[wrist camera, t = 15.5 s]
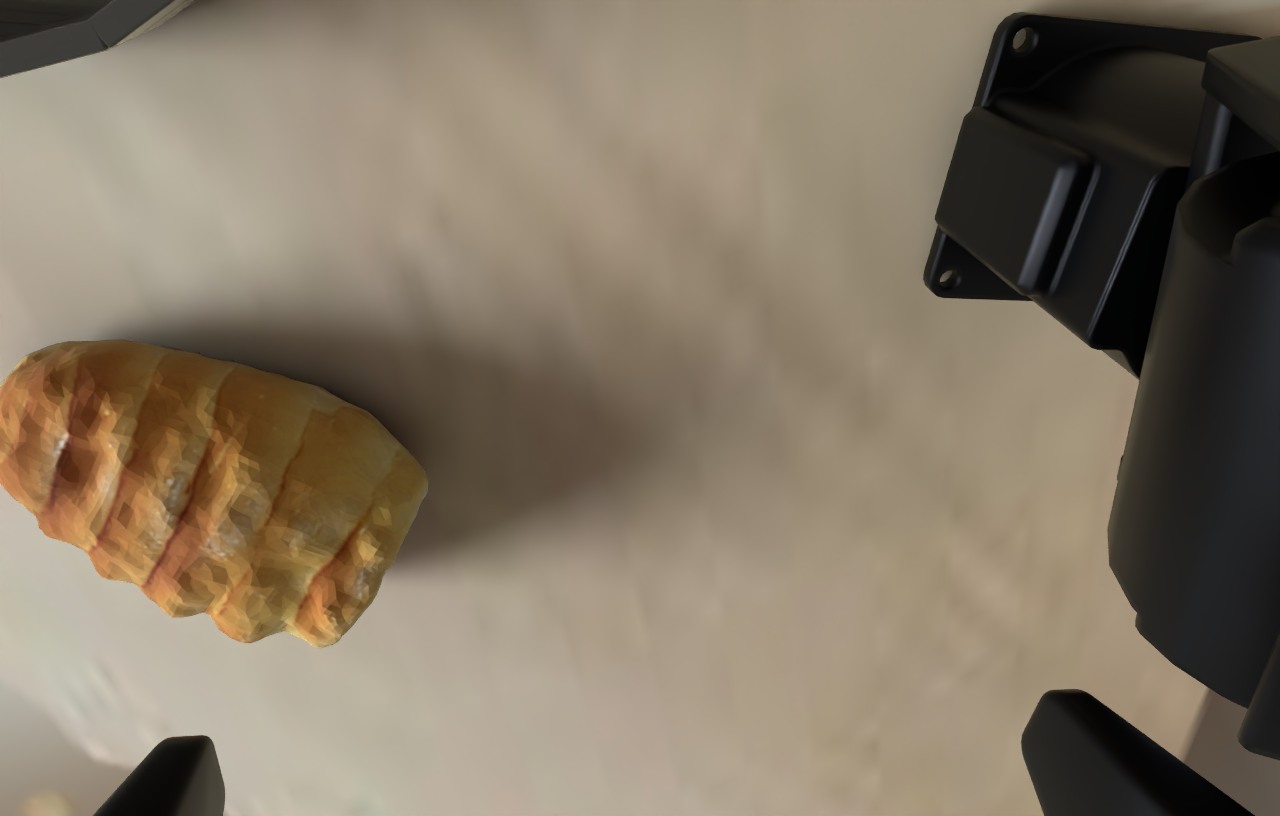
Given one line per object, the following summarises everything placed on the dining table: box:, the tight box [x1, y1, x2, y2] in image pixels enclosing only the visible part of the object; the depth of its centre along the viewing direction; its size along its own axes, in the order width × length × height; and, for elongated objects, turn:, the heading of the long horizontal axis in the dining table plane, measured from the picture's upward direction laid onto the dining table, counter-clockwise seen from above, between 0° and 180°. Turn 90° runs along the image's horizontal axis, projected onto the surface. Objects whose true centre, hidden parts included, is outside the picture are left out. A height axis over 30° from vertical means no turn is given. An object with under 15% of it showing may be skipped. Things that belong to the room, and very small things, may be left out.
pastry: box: [0, 340, 428, 648], centre depth 20 cm, size 9×7×4 cm
